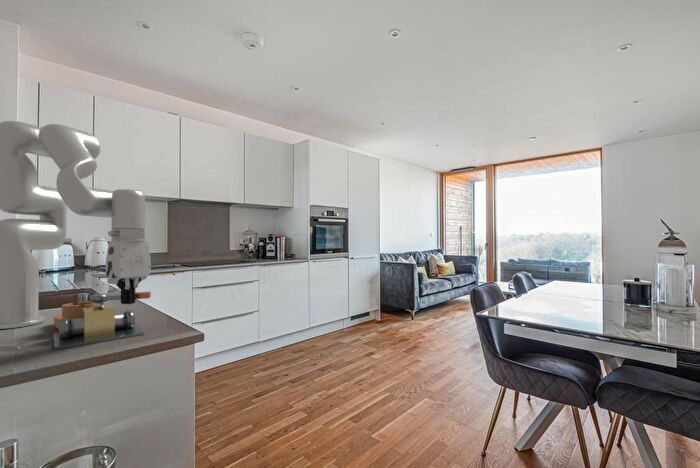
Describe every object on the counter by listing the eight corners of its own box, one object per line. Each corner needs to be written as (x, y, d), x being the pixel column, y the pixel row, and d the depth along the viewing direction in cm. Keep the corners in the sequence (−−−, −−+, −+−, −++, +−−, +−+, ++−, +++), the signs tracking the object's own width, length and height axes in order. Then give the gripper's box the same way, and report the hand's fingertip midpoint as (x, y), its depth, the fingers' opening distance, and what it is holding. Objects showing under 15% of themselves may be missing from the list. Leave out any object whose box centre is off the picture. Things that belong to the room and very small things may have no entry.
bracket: (103, 327, 94) (103, 302, 95) (65, 333, 88) (66, 307, 88) (85, 319, 106) (85, 297, 106) (51, 324, 99) (51, 301, 99)
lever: (88, 302, 87) (88, 296, 87) (93, 299, 91) (93, 294, 91) (148, 298, 92) (148, 293, 92) (150, 296, 96) (150, 291, 96)
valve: (53, 335, 88) (53, 301, 88) (132, 323, 101) (133, 294, 101) (54, 349, 77) (55, 311, 77) (143, 334, 90) (144, 301, 90)
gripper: (112, 235, 81) (111, 310, 81) (162, 235, 96) (161, 299, 96) (89, 235, 83) (89, 308, 83) (141, 235, 98) (141, 297, 98)
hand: (128, 303), depth 89 cm, fingers closed
